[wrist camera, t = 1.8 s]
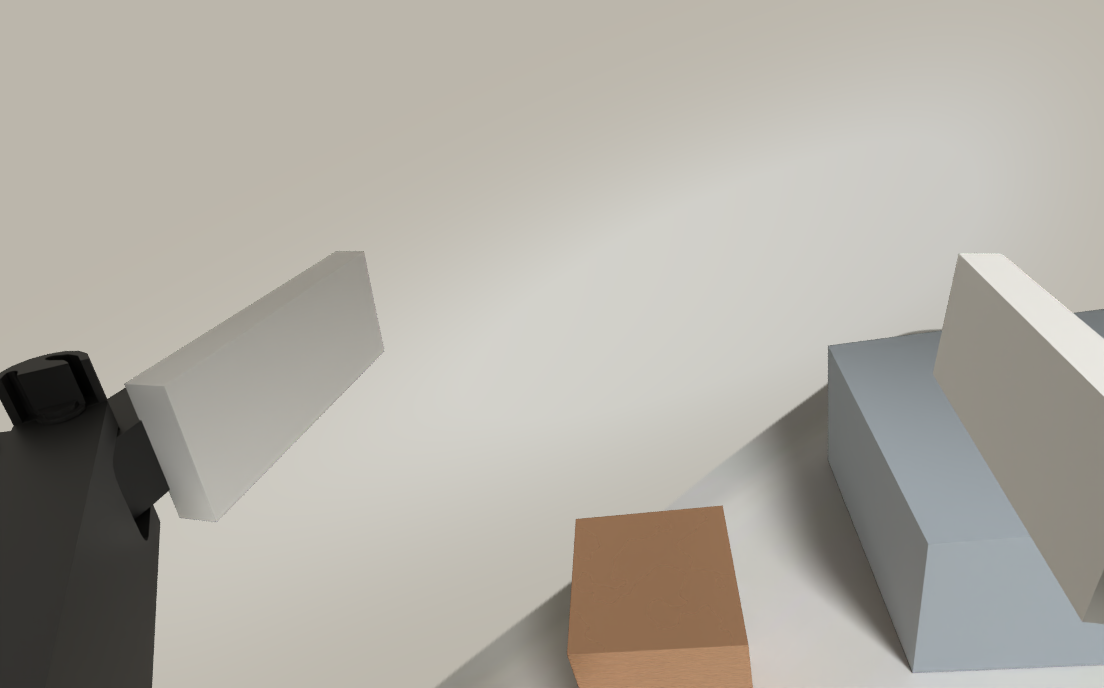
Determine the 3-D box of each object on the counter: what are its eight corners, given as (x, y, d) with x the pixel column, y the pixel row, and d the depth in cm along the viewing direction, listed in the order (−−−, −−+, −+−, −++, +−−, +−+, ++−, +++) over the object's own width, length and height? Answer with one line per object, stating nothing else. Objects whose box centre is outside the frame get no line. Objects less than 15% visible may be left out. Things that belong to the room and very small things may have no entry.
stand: (1075, 434, 44) (1108, 308, 39) (1276, 657, 31) (1368, 510, 25) (827, 459, 47) (828, 345, 42) (912, 672, 34) (928, 544, 28)
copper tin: (740, 654, 36) (722, 505, 30) (763, 794, 31) (748, 645, 24) (616, 660, 38) (575, 519, 32) (617, 795, 32) (567, 654, 26)
